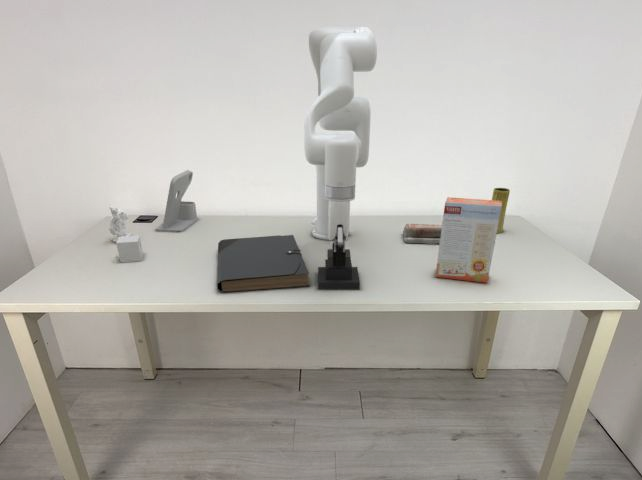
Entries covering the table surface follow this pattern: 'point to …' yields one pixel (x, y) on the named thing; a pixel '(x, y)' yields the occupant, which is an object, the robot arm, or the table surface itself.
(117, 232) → the white figurine
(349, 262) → the grey pad
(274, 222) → the table surface
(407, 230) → the packaged product
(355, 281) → the base pad
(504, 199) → the vase
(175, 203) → the phone holder
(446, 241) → the cracker box
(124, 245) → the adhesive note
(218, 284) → the dark grey book
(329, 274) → the charcoal pad
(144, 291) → the table surface
